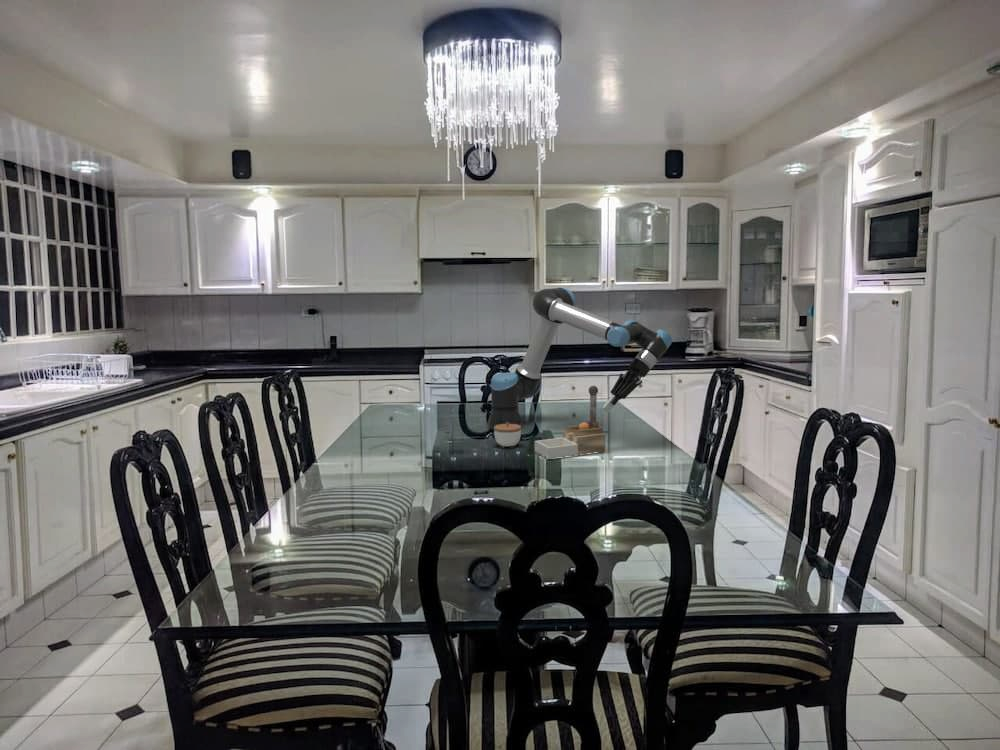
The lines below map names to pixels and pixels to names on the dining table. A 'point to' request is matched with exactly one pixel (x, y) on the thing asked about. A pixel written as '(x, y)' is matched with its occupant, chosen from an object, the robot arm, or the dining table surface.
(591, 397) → the plunger
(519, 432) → the lidded jar
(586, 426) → the ball
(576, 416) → the dining table surface
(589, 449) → the launcher
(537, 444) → the tray
